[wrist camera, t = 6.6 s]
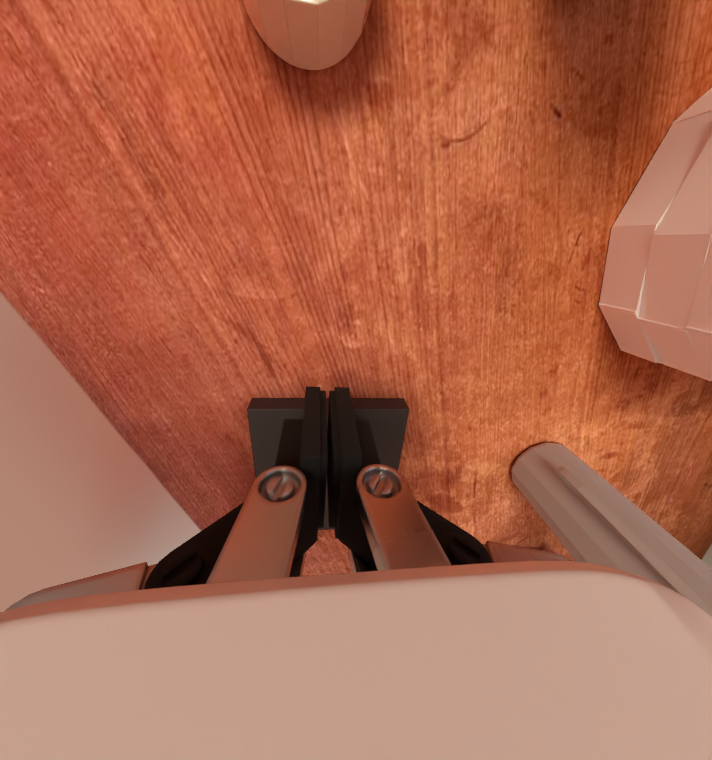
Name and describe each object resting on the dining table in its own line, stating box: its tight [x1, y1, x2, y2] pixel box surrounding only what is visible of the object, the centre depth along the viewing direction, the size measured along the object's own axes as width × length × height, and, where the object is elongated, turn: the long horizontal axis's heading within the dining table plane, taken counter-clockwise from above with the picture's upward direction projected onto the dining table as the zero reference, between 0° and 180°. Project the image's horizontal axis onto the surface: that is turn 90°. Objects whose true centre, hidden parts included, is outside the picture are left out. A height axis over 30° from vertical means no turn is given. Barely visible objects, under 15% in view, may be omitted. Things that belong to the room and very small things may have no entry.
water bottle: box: [512, 442, 712, 616], centre depth 21 cm, size 9×8×25 cm
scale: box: [247, 398, 409, 530], centre depth 27 cm, size 14×16×4 cm
